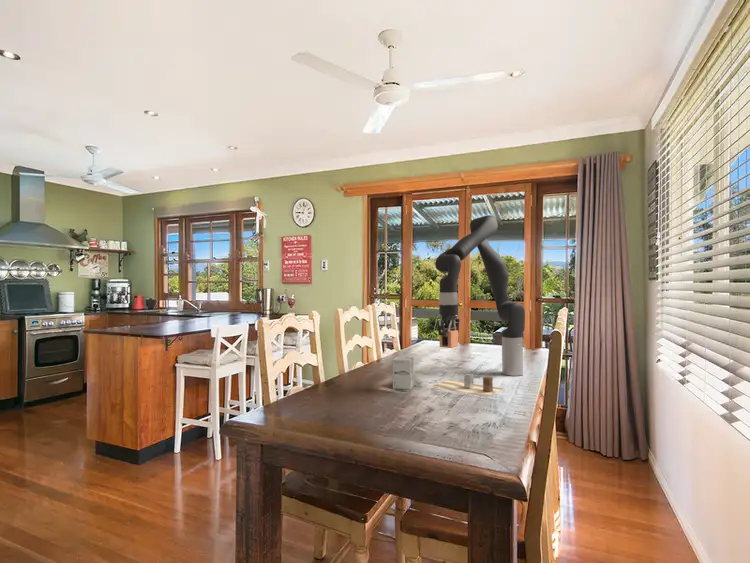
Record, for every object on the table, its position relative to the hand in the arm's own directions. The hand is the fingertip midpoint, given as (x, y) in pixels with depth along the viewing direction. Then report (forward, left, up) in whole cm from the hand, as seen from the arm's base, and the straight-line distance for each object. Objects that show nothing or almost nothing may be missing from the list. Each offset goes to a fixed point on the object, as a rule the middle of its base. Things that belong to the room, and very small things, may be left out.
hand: (448, 344), depth 169 cm
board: (0, +8, -17) cm, 19 cm away
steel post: (0, +9, -16) cm, 18 cm away
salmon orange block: (0, 0, -1) cm, 1 cm away
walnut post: (0, +17, -16) cm, 23 cm away
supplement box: (+15, -12, -17) cm, 26 cm away
